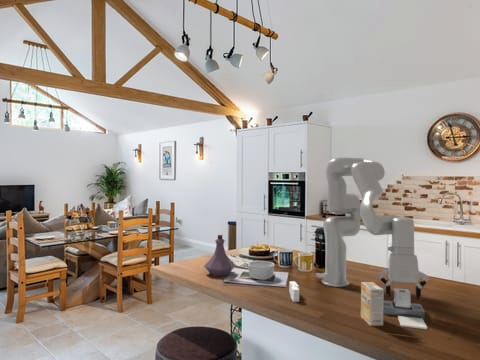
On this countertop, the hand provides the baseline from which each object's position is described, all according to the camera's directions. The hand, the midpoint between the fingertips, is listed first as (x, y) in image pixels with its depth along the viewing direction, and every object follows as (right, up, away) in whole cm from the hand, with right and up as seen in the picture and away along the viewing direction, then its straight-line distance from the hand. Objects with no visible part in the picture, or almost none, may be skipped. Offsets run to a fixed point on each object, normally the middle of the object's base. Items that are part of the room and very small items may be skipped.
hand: (403, 297), depth 134 cm
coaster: (-1, -6, -9) cm, 11 cm away
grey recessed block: (0, -6, +1) cm, 6 cm away
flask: (-71, -6, +54) cm, 89 cm away
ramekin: (-50, -6, +47) cm, 69 cm away
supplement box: (-15, -7, -8) cm, 18 cm away
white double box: (-38, -7, +18) cm, 43 cm away
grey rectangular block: (0, -6, +1) cm, 6 cm away
